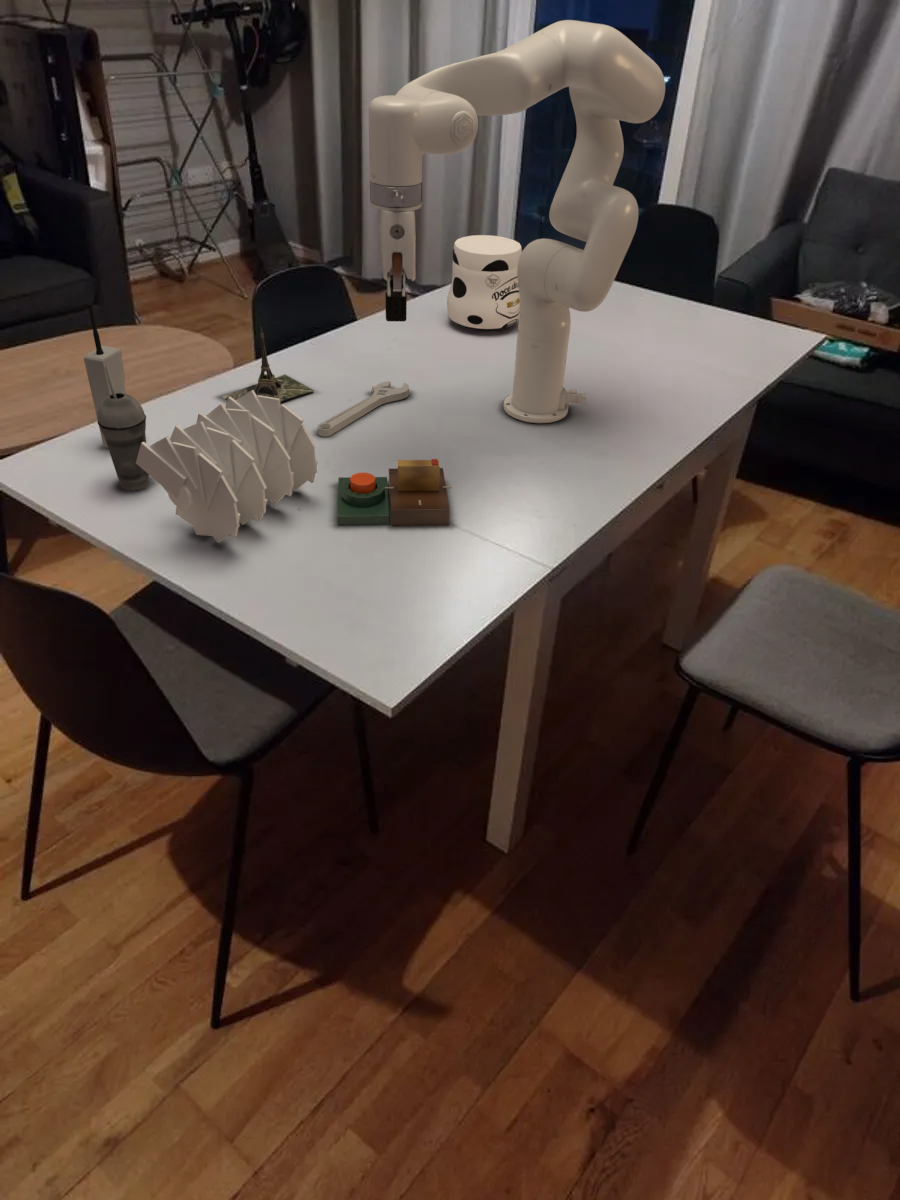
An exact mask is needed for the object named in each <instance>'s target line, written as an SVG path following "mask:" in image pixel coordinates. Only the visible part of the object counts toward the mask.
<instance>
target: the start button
mask: <svg viewBox="0 0 900 1200" xmlns="http://www.w3.org/2000/svg"><path fill="white" fill-rule="evenodd" d="M349 477H350V489H351V491H352V492H355V493H358V494H366V493H370V492H373V491H374V490H375V488H376V484H375V477H376V476H375V475H373V474H372V473H369V472H356V473H354V474H352V475H350V476H349Z"/></svg>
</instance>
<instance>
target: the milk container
mask: <svg viewBox="0 0 900 1200" xmlns="http://www.w3.org/2000/svg"><path fill="white" fill-rule="evenodd" d="M452 248H453V249H452V262H451V282H450V286H449V291H448V294H447V297H446V298H447V299H446V308H447V314H448V317H449V319H450V321H452V323H454V324H455V325H457V326H458V327H461V328H464V329H467V330H471V331H475V332H498V331H502V330H507V329H509V328H510V327H512V326H514V325H515V324H516V323H517V322H518V321H519V311H520V297H519V286H518V276H517V268H518V261H519V258H520V255H521V253H522V251H523V249H522V245H521V243H520V242H519V241H517V240H515V239H512V238H508V237H505V236H499V235H489V234H488V235H487V234H477V235H476V234H475V235H474V234H473V235H468V236H467V235H466V236H463V237H460V238H457V239H456V240H455V242H454V243H453V247H452Z"/></svg>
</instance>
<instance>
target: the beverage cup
mask: <svg viewBox="0 0 900 1200" xmlns="http://www.w3.org/2000/svg"><path fill="white" fill-rule="evenodd" d="M104 368H105V371H106V375H107V378H108V382H109V385H110V389H111V392H112V394H111V395H109V396H107V397H106V398H105V399H104V400H103V401H102V402H101V404H100V406H99V409H98V420H97V425H98V427H99V426H100V428H99V430H100V429H101V431H102V433H103V435H104V437H105V440H106V443H107V446H108V448H107V449H108V452H109V455H110V458H111V461H112V465H113V467H114V470H115V473H116V476H117V480H118V481H119V484H120V487H121V488H122V489H123V490H124V491H128V492H135V491H140V490H143V489H146V488H147V487H149V485H150V475H149V474H148V473H147V472H145V471H144V470H143V469H142V468H141V467H140V466H138V465H137V464H136V460H137V457H138V453H139V449H140V446H141V443H142V442H145V443H146V444H147V436H146V431H147V430H146V429H147V415H146V414H145V410H144V409H143V407H142V405H141V404H140V402H139V401H138V400H137V399H136V398H134V396H131V395H130V394H127V393H126V394H124V393H115V390H114V386H113V383H112V379H111V376H110V373H109V369H108V366H107V365H106V366H104Z"/></svg>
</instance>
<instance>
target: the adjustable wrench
mask: <svg viewBox="0 0 900 1200" xmlns="http://www.w3.org/2000/svg"><path fill="white" fill-rule="evenodd" d="M391 385H392V383H391V381H389V380H387V381H383V382H380V383H377V384H376V385H374V386H373V385H372V386H371V388H372V389H371V390H370V393H371V395H370V396H368V397H366V398H364V399H362V400H360V401H359V402H357V403H355V404H353V405H351V406H350V407H348V408H346V409H345V410H342V411H341V412H339V413H337V414H335V415H334V416H332V417H329V418H328V419H326V420H324V421H323V422H320V423H319V424H318V425H317V435H319V437H324V438H325V437H326V438H327V437H330V436H332V435H334V434H336V433H338V432H339V431H340V430H342V429H343V428H345V427H347V426H348V425H350V424H352V423H354V422H355V421H357V420H359V419H360V418H361V417H364V416H365V415H366V414H369V412H371V411H373V410H374V409H376V408H378V407H380V406H383V405H385V404H388V403H391V402H397V401H401V400H404V399H407V398H408V397H409V395H410V386H409V385H408V383H406V382H404V383H403V384H402V386H401V387H398V388H391Z"/></svg>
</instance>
